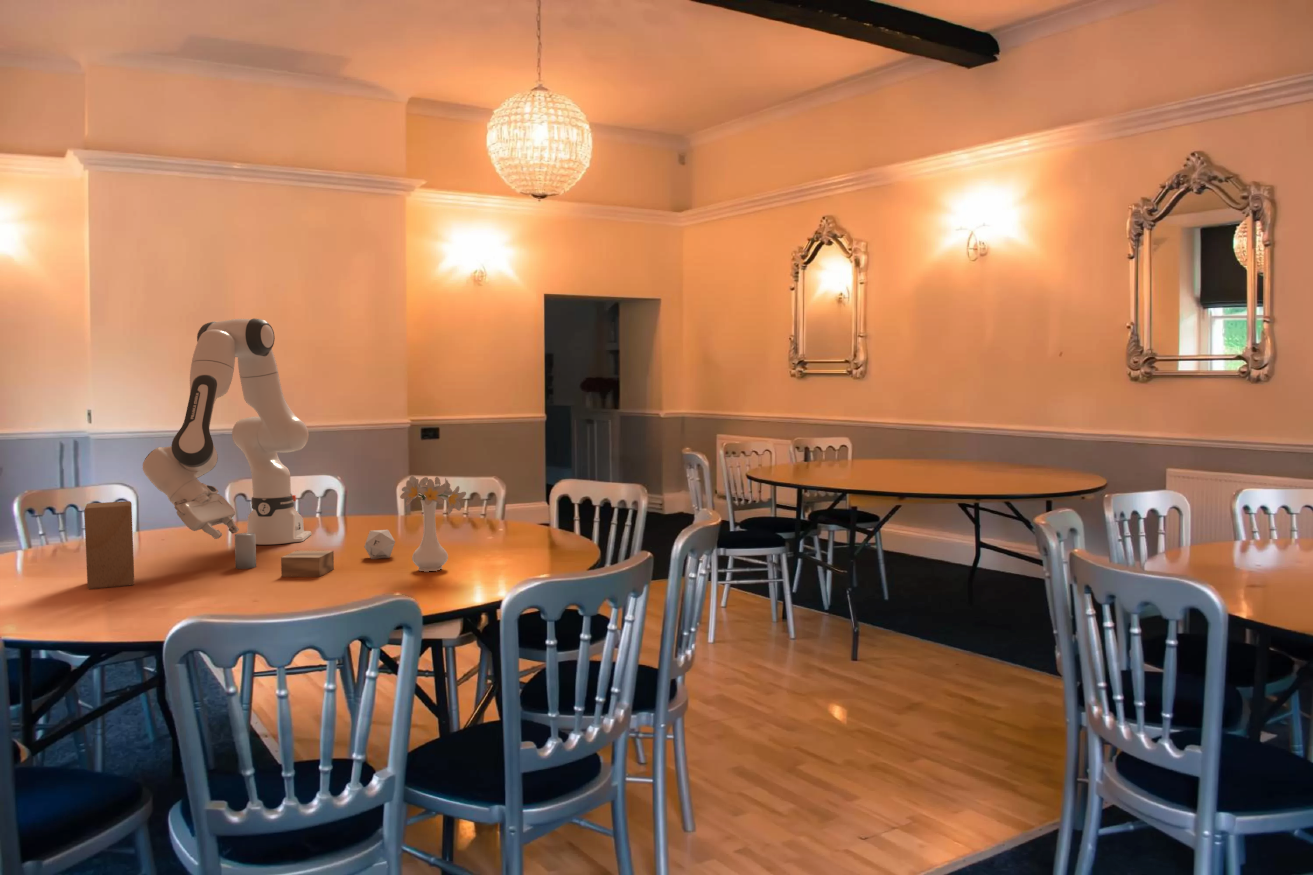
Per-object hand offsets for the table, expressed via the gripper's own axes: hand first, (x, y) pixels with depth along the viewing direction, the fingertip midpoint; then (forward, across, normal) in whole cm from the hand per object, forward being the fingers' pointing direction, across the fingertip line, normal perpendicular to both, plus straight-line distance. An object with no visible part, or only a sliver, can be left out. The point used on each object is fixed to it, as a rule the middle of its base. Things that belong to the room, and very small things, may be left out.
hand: (227, 534), depth 266 cm
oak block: (+24, -6, -11) cm, 27 cm away
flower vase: (+46, -1, -34) cm, 57 cm away
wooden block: (-7, -22, +20) cm, 31 cm away
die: (+32, +16, -20) cm, 41 cm away
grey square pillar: (+10, 0, +3) cm, 10 cm away
